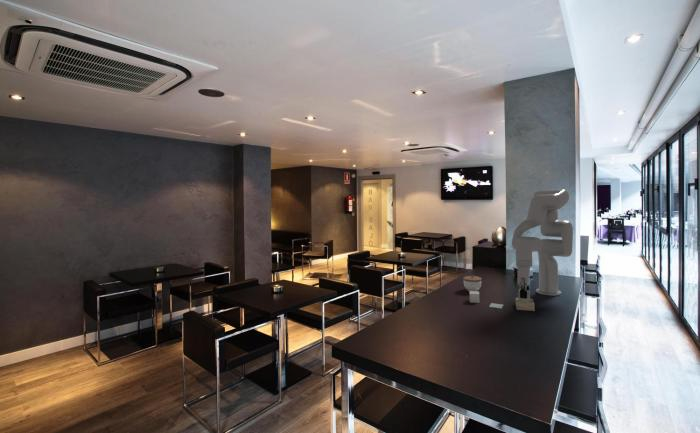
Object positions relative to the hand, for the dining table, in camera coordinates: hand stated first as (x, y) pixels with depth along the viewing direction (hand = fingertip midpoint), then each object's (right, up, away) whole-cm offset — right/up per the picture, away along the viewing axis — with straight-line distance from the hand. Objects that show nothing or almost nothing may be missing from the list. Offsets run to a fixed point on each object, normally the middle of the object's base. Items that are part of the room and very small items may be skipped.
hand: (524, 295), depth 171 cm
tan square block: (0, -7, 0) cm, 7 cm away
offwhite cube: (-20, -7, +14) cm, 26 cm away
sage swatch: (-13, -7, +4) cm, 15 cm away
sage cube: (0, -3, 0) cm, 3 cm away
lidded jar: (-14, -5, +35) cm, 38 cm away
